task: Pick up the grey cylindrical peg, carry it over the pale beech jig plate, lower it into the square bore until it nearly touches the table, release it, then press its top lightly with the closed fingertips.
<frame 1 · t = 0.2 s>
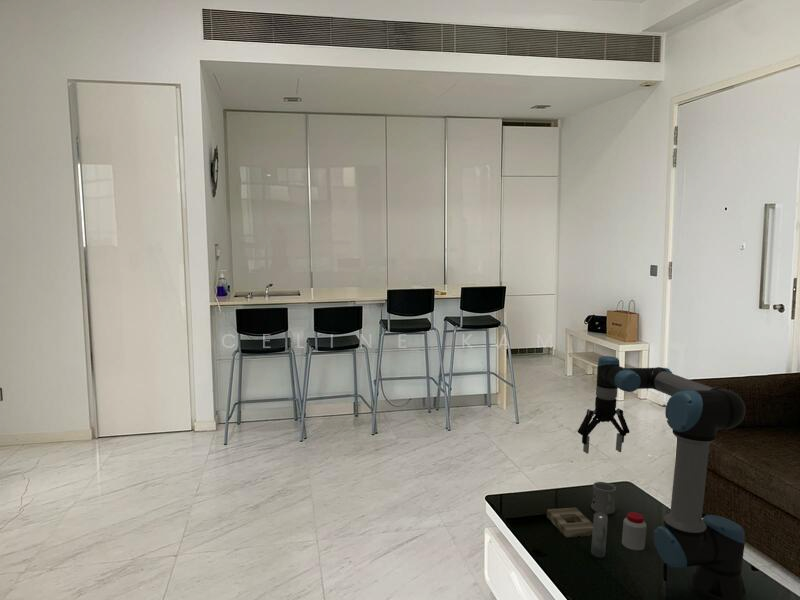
hand: (602, 451, 227), 28 cm above the table, fingers open, 13 cm apart
mug: (604, 512, 238), on the table
pill bottle: (633, 545, 213), on the table
grey cylindrical peg: (598, 553, 206), on the table
jig: (570, 525, 225), on the table
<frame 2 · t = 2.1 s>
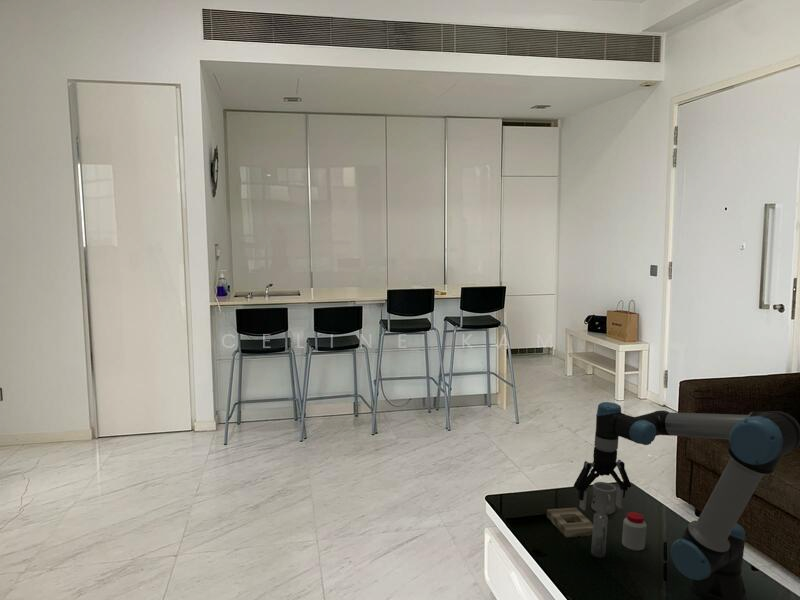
hand: (600, 507, 204), 17 cm above the table, fingers open, 13 cm apart
nothing on the table moved.
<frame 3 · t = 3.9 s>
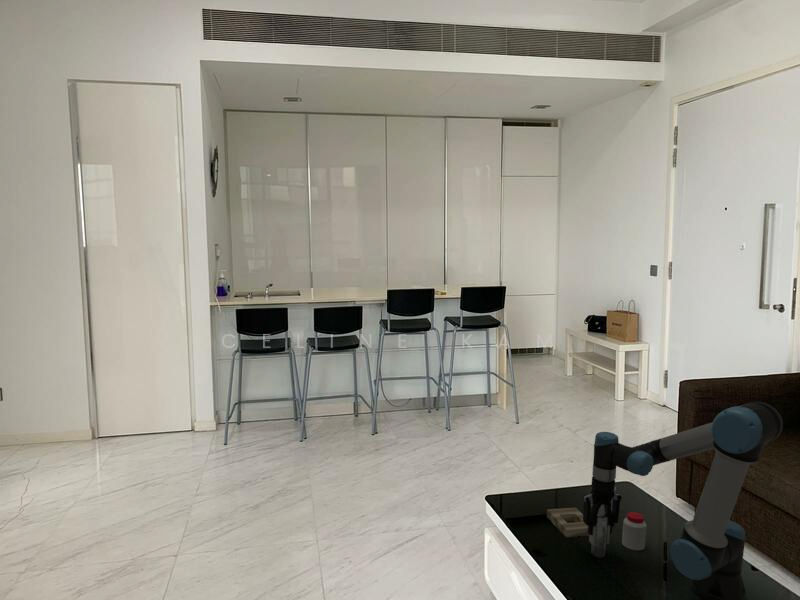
hand: (598, 542, 205), 4 cm above the table, fingers closed on grey cylindrical peg, 5 cm apart
grey cylindrical peg: (598, 553, 206), on the table, touching gripper
everything else where it was.
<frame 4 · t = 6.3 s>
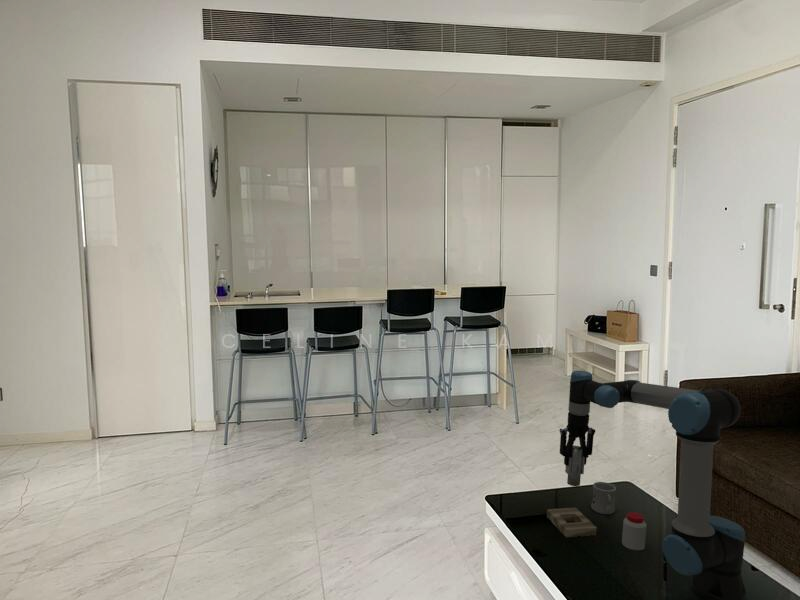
hand: (574, 472, 223), 21 cm above the table, fingers closed on grey cylindrical peg, 5 cm apart
grey cylindrical peg: (573, 483, 223), point 17 cm above the table, touching gripper
everything else where it was.
when the fingers open (5 cm above the table, at t = 9.0 s): grey cylindrical peg stays where it is, resting in jig.
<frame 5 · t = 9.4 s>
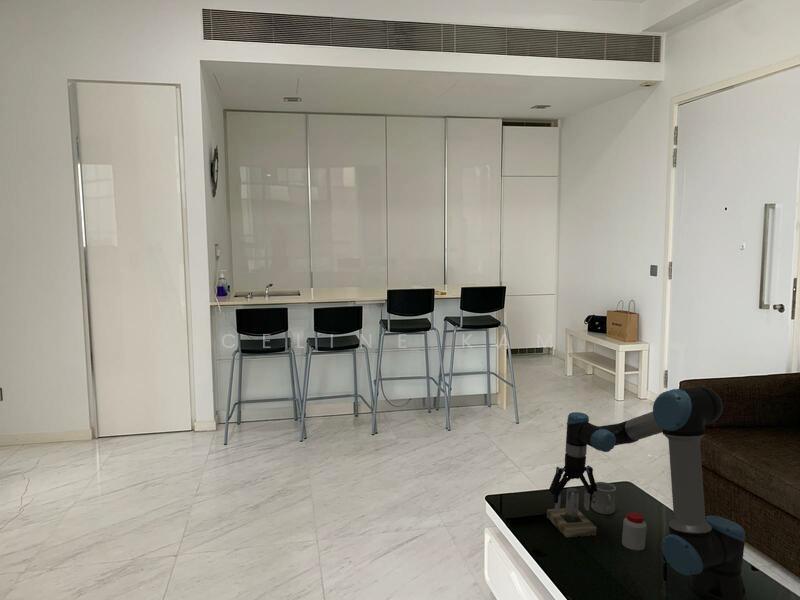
hand: (571, 509, 225), 6 cm above the table, fingers open, 11 cm apart
grey cylindrical peg: (570, 525, 225), resting in jig
everything else where it was.
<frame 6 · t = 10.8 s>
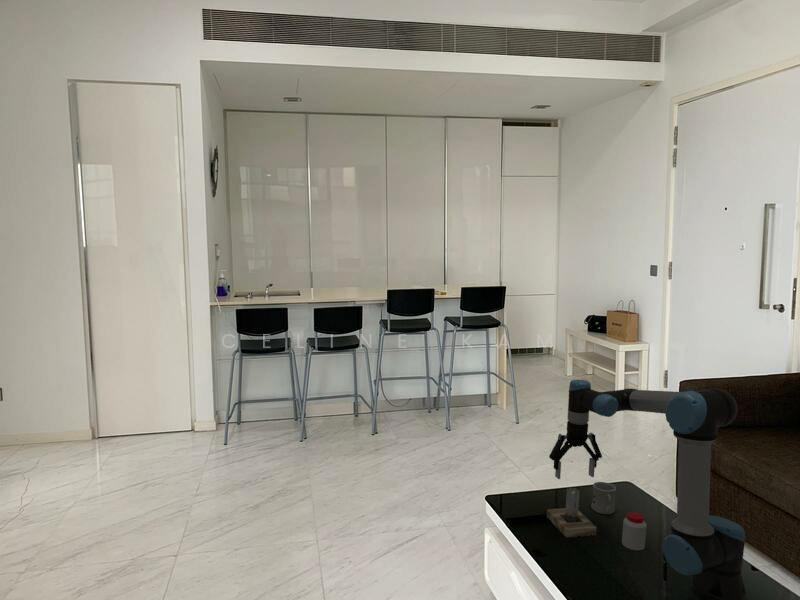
hand: (574, 476, 223), 19 cm above the table, fingers open, 13 cm apart
nothing on the table moved.
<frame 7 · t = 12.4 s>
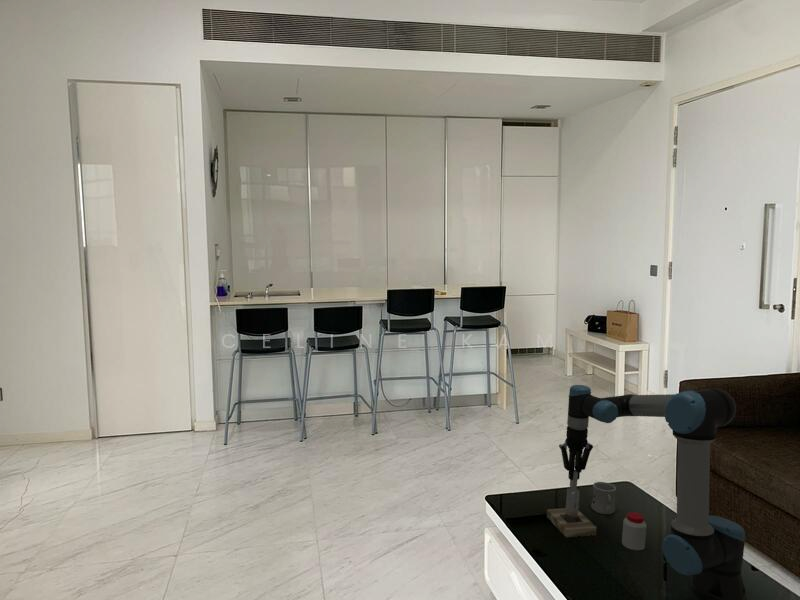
hand: (573, 487, 224), 15 cm above the table, fingers closed
nothing on the table moved.
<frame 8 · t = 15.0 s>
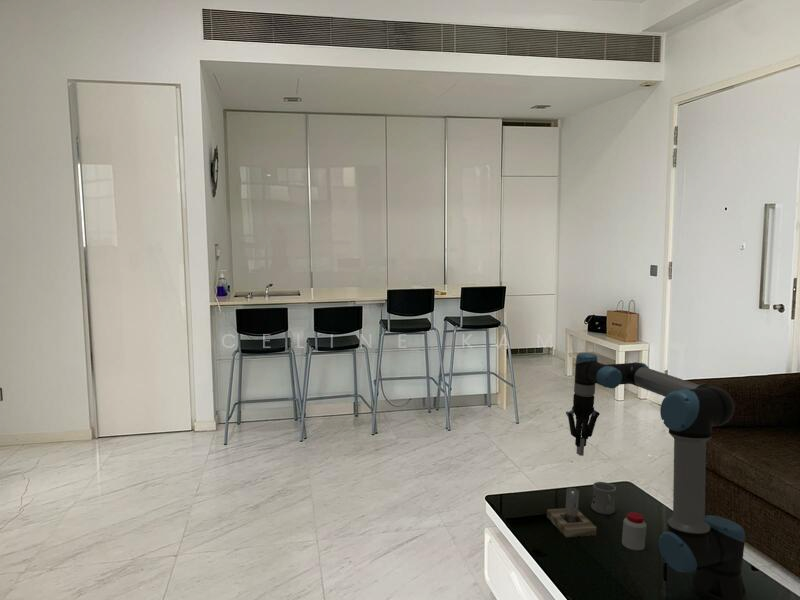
hand: (579, 454, 227), 26 cm above the table, fingers closed
nothing on the table moved.
at the end: grey cylindrical peg 0.1 cm off-centre on the jig, point 0.0 cm above the jig's base; grey cylindrical peg tilted 0°; the gripper is holding nothing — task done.
